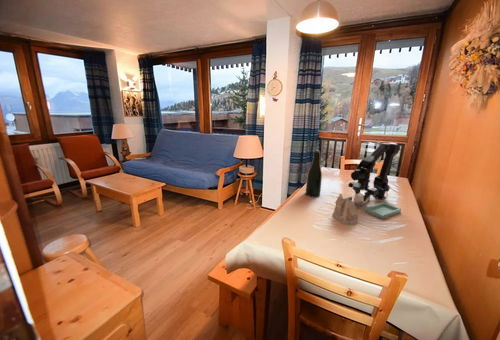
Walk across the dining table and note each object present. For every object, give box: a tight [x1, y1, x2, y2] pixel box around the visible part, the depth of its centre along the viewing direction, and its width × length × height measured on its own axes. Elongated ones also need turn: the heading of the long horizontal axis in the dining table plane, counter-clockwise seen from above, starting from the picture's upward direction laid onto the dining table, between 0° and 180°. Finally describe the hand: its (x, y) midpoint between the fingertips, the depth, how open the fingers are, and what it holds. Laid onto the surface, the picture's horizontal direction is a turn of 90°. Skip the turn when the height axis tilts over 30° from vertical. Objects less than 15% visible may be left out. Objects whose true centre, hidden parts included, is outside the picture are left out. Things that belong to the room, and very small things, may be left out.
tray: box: [364, 201, 402, 220], centre depth 137 cm, size 19×11×2 cm, turn 119°
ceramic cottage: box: [332, 193, 359, 227], centre depth 128 cm, size 16×16×15 cm
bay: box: [344, 196, 364, 209], centre depth 147 cm, size 7×9×3 cm
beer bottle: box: [305, 149, 323, 198], centre depth 158 cm, size 10×10×33 cm
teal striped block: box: [353, 191, 372, 204], centre depth 152 cm, size 12×5×6 cm, turn 119°
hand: (360, 199), depth 151 cm, fingers closed on teal striped block, 5 cm apart
